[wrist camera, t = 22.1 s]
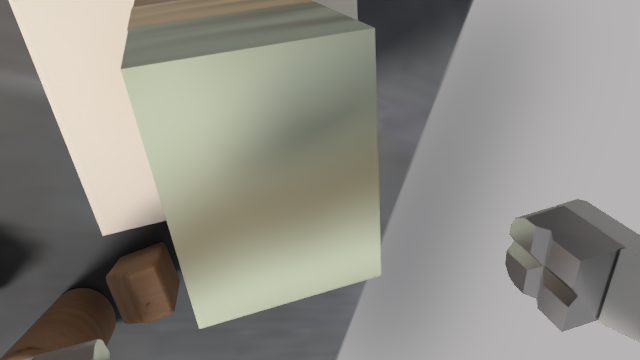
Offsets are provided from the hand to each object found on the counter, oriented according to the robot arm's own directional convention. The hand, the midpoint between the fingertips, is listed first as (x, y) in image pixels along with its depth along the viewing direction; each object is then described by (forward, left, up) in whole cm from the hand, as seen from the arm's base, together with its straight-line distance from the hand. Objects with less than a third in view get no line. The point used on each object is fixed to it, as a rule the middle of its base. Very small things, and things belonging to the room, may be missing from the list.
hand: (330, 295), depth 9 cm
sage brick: (0, 0, -9) cm, 9 cm away
